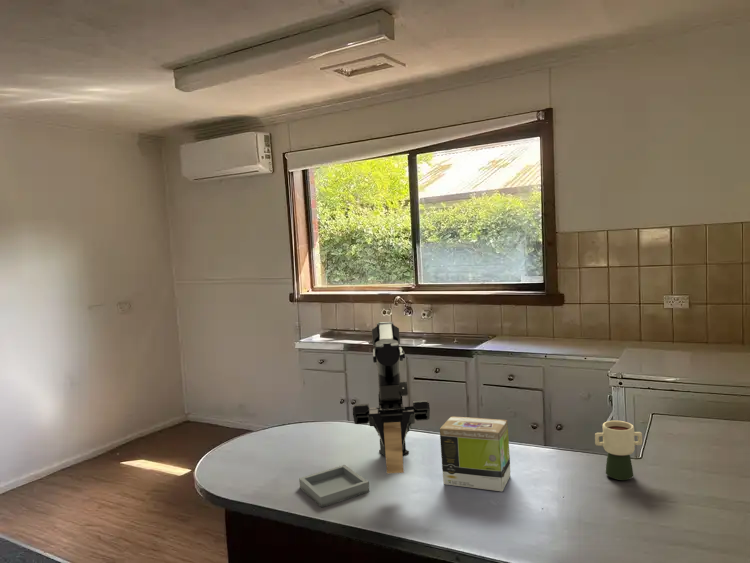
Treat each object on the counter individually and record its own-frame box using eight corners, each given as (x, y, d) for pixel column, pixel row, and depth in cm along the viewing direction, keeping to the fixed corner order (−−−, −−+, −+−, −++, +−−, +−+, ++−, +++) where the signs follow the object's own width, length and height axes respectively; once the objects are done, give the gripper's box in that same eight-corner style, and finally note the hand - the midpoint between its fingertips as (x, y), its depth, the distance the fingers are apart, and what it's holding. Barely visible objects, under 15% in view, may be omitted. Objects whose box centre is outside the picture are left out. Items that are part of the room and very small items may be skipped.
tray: (345, 473, 154) (344, 464, 154) (369, 491, 143) (368, 481, 142) (299, 487, 147) (299, 478, 147) (321, 507, 136) (320, 497, 136)
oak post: (386, 466, 141) (383, 422, 140) (403, 465, 141) (400, 421, 140) (386, 473, 137) (383, 428, 136) (403, 472, 137) (400, 427, 136)
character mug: (638, 470, 144) (637, 419, 143) (647, 483, 137) (646, 430, 136) (592, 470, 146) (591, 420, 144) (599, 483, 139) (598, 431, 137)
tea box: (511, 475, 146) (508, 418, 145) (502, 493, 137) (499, 433, 136) (454, 468, 153) (450, 414, 151) (442, 485, 143) (438, 427, 142)
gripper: (350, 372, 141) (351, 432, 131) (426, 368, 141) (433, 427, 131) (354, 394, 150) (355, 452, 140) (426, 390, 149) (432, 448, 140)
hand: (393, 445), depth 137 cm, fingers closed on oak post, 4 cm apart
